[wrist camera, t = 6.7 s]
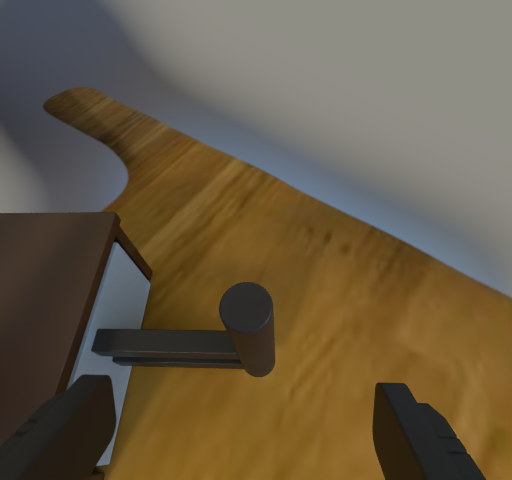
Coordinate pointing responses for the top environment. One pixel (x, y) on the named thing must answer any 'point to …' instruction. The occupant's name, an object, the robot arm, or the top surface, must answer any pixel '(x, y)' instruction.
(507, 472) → the top surface
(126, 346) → the drawer
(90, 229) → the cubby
